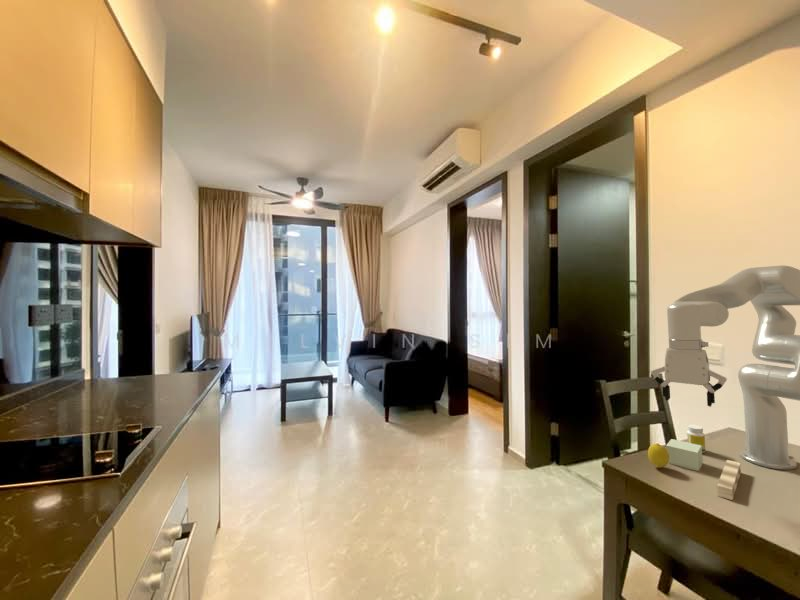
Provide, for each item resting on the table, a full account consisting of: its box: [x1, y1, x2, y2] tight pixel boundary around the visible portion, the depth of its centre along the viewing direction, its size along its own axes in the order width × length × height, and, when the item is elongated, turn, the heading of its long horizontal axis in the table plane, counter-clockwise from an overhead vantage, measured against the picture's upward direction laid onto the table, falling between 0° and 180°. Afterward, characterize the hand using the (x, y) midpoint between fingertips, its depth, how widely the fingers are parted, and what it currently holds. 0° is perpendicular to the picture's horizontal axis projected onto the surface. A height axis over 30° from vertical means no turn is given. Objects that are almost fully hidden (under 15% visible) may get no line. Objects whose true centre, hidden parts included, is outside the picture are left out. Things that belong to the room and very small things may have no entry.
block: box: [665, 438, 704, 472], centre depth 114 cm, size 7×8×6 cm
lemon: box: [647, 443, 669, 469], centre depth 112 cm, size 6×6×8 cm
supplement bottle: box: [686, 424, 706, 454], centre depth 122 cm, size 5×5×8 cm
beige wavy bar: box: [716, 459, 742, 501], centre depth 101 cm, size 20×3×3 cm, turn 131°
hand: (688, 402), depth 102 cm, fingers open, 9 cm apart
